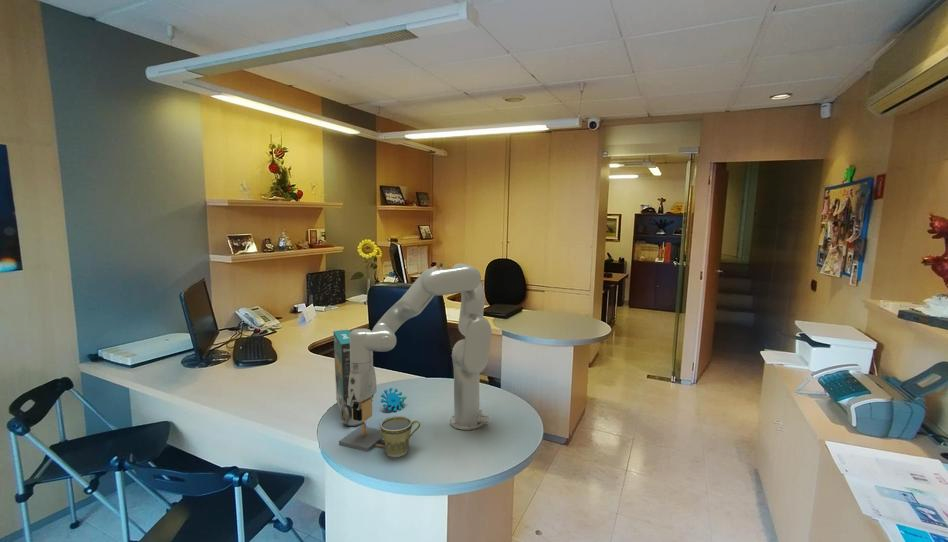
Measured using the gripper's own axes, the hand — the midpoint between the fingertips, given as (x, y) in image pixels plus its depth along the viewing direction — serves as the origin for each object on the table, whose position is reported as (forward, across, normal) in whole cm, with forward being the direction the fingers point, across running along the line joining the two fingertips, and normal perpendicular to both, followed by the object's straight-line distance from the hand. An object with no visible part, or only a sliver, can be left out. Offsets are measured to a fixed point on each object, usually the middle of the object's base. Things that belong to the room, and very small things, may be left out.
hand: (362, 416), depth 145 cm
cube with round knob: (+1, 0, 0) cm, 1 cm away
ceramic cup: (+9, -1, -16) cm, 19 cm away
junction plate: (+9, 0, -2) cm, 9 cm away
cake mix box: (+9, +19, +22) cm, 30 cm away
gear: (+9, +26, +4) cm, 28 cm away
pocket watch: (+9, +8, +11) cm, 17 cm away
